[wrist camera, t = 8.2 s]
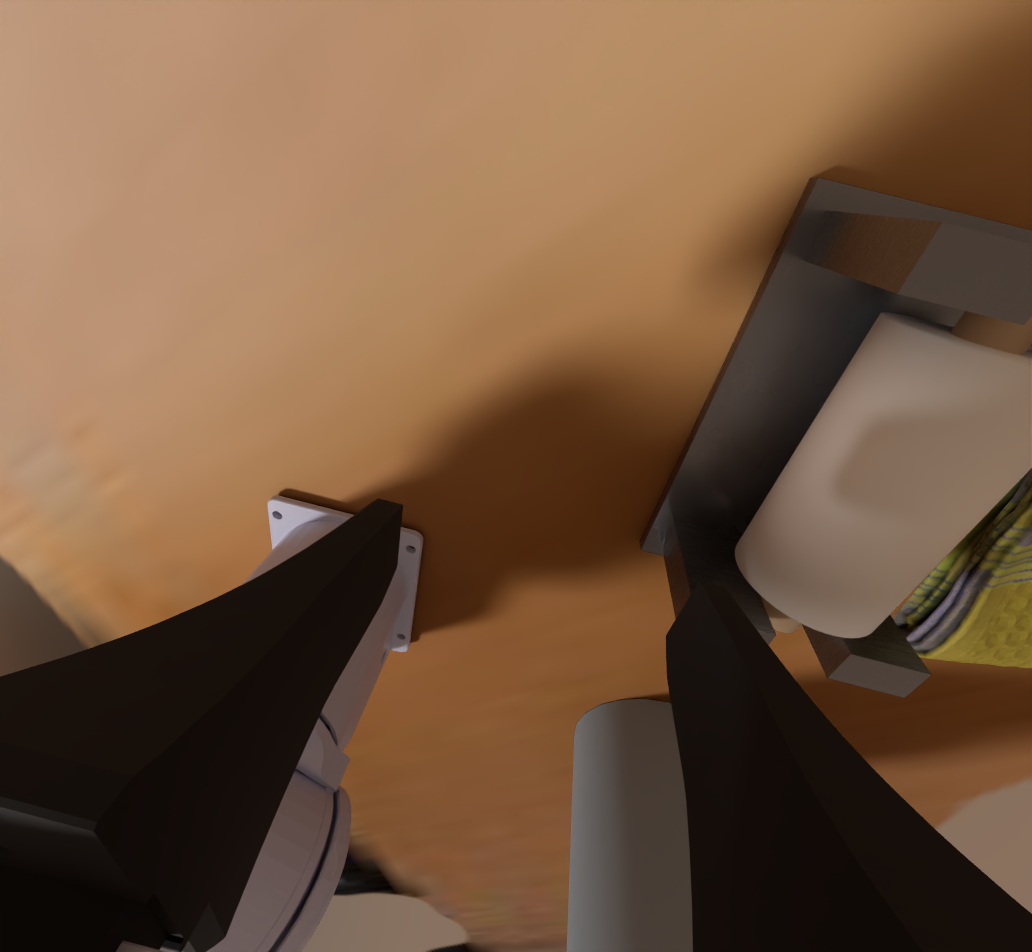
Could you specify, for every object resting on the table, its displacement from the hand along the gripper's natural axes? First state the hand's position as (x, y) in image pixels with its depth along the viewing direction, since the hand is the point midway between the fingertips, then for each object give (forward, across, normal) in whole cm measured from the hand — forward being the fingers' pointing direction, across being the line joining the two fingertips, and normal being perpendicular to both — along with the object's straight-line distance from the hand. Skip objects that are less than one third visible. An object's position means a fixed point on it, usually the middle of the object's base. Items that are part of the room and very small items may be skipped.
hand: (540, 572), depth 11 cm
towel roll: (+6, -10, -2) cm, 12 cm away
